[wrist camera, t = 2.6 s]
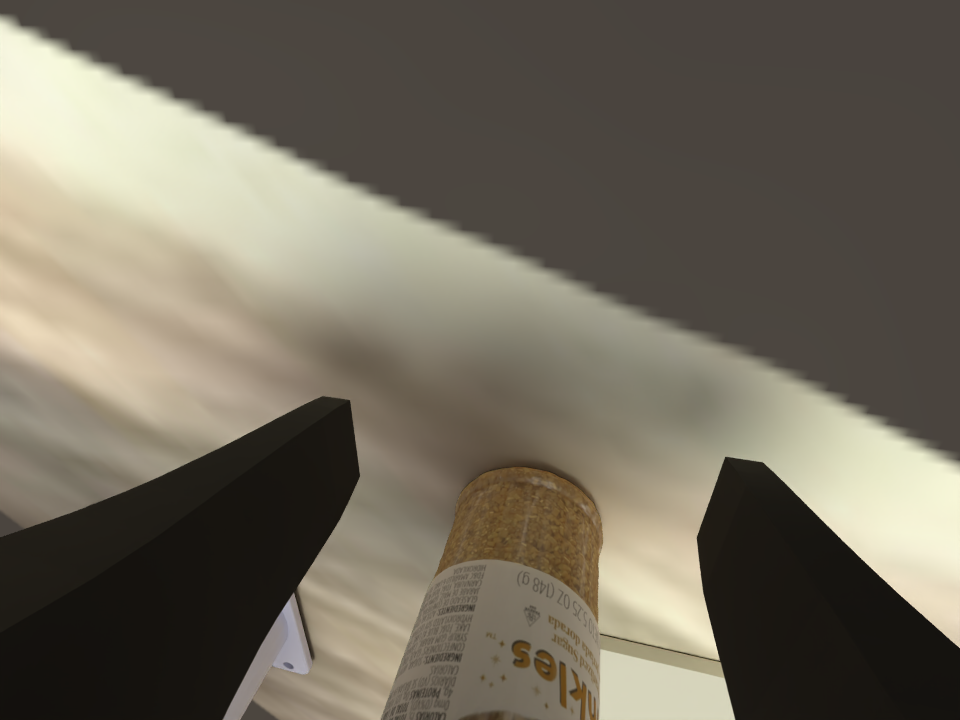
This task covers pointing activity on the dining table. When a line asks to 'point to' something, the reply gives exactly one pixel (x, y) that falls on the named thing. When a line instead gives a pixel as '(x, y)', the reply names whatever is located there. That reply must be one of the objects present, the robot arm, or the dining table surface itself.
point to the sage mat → (659, 684)
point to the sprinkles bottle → (509, 608)
